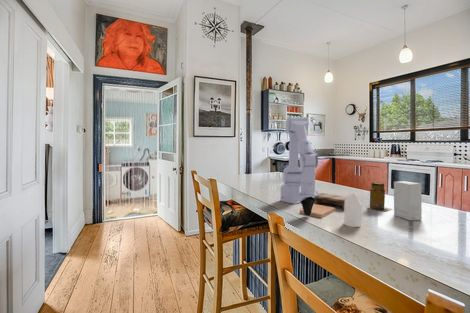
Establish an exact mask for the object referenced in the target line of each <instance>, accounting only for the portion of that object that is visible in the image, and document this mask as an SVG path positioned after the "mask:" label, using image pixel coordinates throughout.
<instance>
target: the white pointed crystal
mask: <svg viewBox="0 0 470 313" xmlns="http://www.w3.org/2000/svg"><path fill="white" fill-rule="evenodd" d="M347 197H348V198H347V199H346V200H345V203H344V210H343V211H344V212H343V215H344V218H343V224H344V225H345V226H347V227H350V228H360V227H362V214H363V213H362V212H363V209H362V208H363V205H362V203H361V201H360V200H359V197H358V195H357V194H356V193H352V194H349V196H347Z"/></svg>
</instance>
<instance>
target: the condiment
mask: <svg viewBox="0 0 470 313" xmlns="http://www.w3.org/2000/svg"><path fill="white" fill-rule="evenodd" d="M370 185H371V187H370V190H369V206H367V207H365V208H366V209H369V210H376V211H382V212H389V211H390V210H392V208H390V207H385V202H386V201H385V198H386V190H385V184H384V183H382V182H377V181H375V182H371V184H370Z"/></svg>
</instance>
